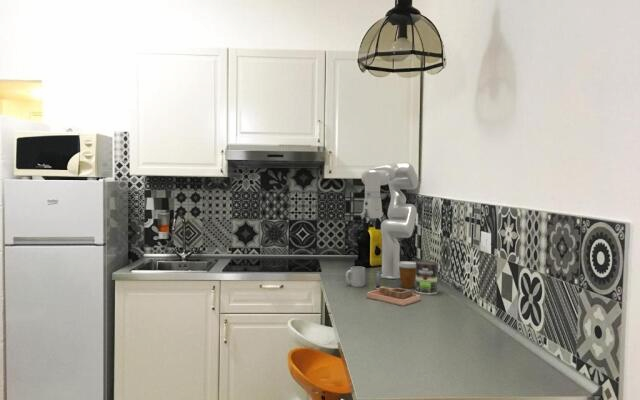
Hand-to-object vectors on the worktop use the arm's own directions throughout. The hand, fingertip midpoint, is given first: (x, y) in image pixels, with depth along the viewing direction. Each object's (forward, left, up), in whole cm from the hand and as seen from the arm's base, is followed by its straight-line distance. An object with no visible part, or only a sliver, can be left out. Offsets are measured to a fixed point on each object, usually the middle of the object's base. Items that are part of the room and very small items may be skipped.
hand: (372, 230), depth 230 cm
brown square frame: (+13, +22, -28) cm, 38 cm away
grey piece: (+1, +5, -28) cm, 29 cm away
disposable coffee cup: (-14, +12, -28) cm, 34 cm away
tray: (+13, +22, -28) cm, 38 cm away
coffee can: (-10, +25, -28) cm, 39 cm away
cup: (+3, -8, -28) cm, 30 cm away
